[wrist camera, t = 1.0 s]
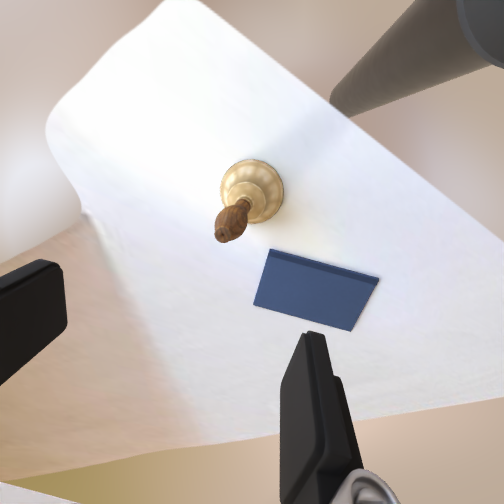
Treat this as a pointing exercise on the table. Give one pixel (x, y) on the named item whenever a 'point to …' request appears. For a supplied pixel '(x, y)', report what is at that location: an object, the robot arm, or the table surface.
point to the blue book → (313, 290)
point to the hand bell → (247, 198)
